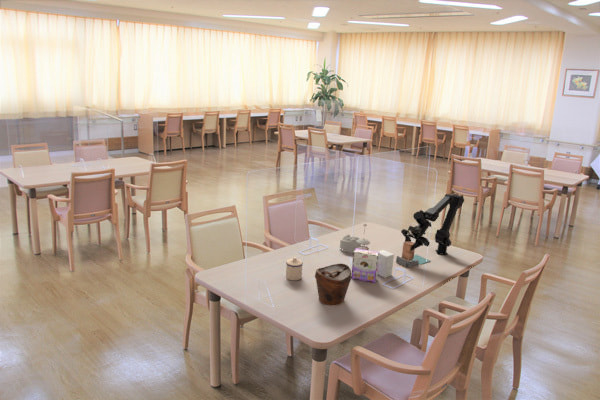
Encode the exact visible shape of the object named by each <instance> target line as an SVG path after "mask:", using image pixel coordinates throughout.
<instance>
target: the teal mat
mask: <svg viewBox="0 0 600 400" xmlns="http://www.w3.org/2000/svg"><path fill="white" fill-rule="evenodd" d="M426 259H427V262H426ZM415 260H419V262H418V265H420V266H421V265H423V264H427V263H431V259H428V258H426V257H424V256H421V255H418V254H414V259H412V260H410V262H412V261H415Z"/></svg>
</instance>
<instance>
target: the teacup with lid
mask: <svg viewBox="0 0 600 400" xmlns="http://www.w3.org/2000/svg"><path fill="white" fill-rule="evenodd" d="M285 263H286V265H285V266H286V269H285V270H286V271H285V277H286V279H287V280H290V281H298V280H301V279H302V274H303V261H302V260H301V259H298V258H297V257H296V256H293V257H292V258H290V259H287V260H286V262H285Z"/></svg>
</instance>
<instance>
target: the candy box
mask: <svg viewBox="0 0 600 400" xmlns="http://www.w3.org/2000/svg"><path fill="white" fill-rule="evenodd" d="M379 254H380V252H378V251H375V250H374V251H373V250H363V249H358V248H356V249H355V250H354V252H352V267H351V280H352V279H353V280H359V281H363V282H367V283H368V282H370V283H375V284H376V282H377V280H378V264H379Z"/></svg>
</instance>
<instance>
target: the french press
mask: <svg viewBox="0 0 600 400" xmlns="http://www.w3.org/2000/svg"><path fill="white" fill-rule="evenodd" d="M367 226H368V225H367V223H363V227H367ZM363 231H364V232H363V234H365V232H366V228H364V229H363ZM357 243H358V244H361V246H358V247H357V248H358V249H363V250H369V247H368V246H369V245H370V244H371V241H370V240H369V239H368V238H367V239H366V238H360V239H359V240H357ZM369 251H370V250H369Z"/></svg>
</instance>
